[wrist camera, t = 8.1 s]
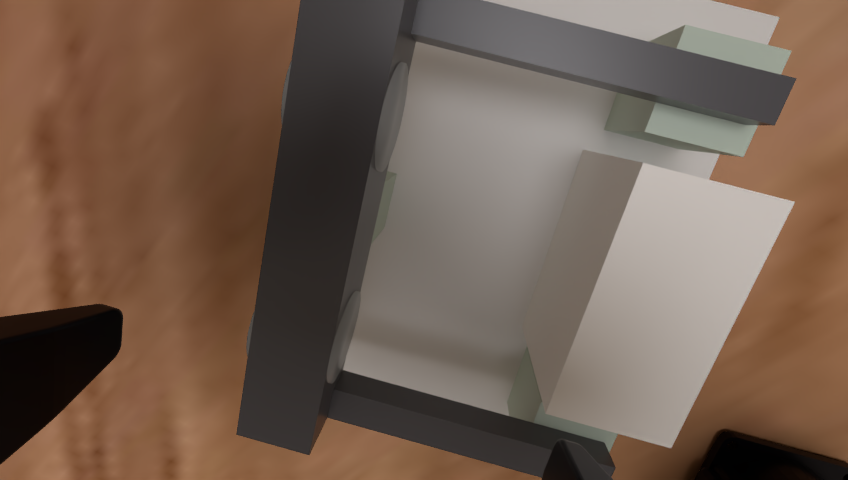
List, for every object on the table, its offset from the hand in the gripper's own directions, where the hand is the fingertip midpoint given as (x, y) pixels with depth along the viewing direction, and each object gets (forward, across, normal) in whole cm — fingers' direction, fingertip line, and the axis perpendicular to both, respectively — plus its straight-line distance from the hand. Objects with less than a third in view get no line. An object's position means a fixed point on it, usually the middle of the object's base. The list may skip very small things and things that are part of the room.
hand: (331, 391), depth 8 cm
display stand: (+12, -3, -2) cm, 12 cm away
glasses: (+7, -3, -2) cm, 7 cm away
